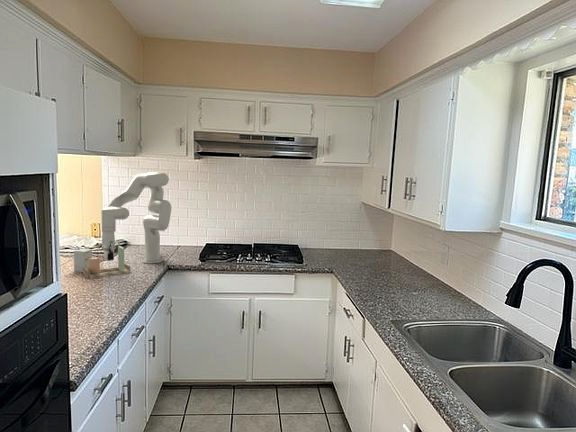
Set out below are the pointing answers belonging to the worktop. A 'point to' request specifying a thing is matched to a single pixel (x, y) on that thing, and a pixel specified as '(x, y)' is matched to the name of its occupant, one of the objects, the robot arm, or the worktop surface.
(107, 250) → the cream jar
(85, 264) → the supplement box
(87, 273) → the lane
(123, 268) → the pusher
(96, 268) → the ball
